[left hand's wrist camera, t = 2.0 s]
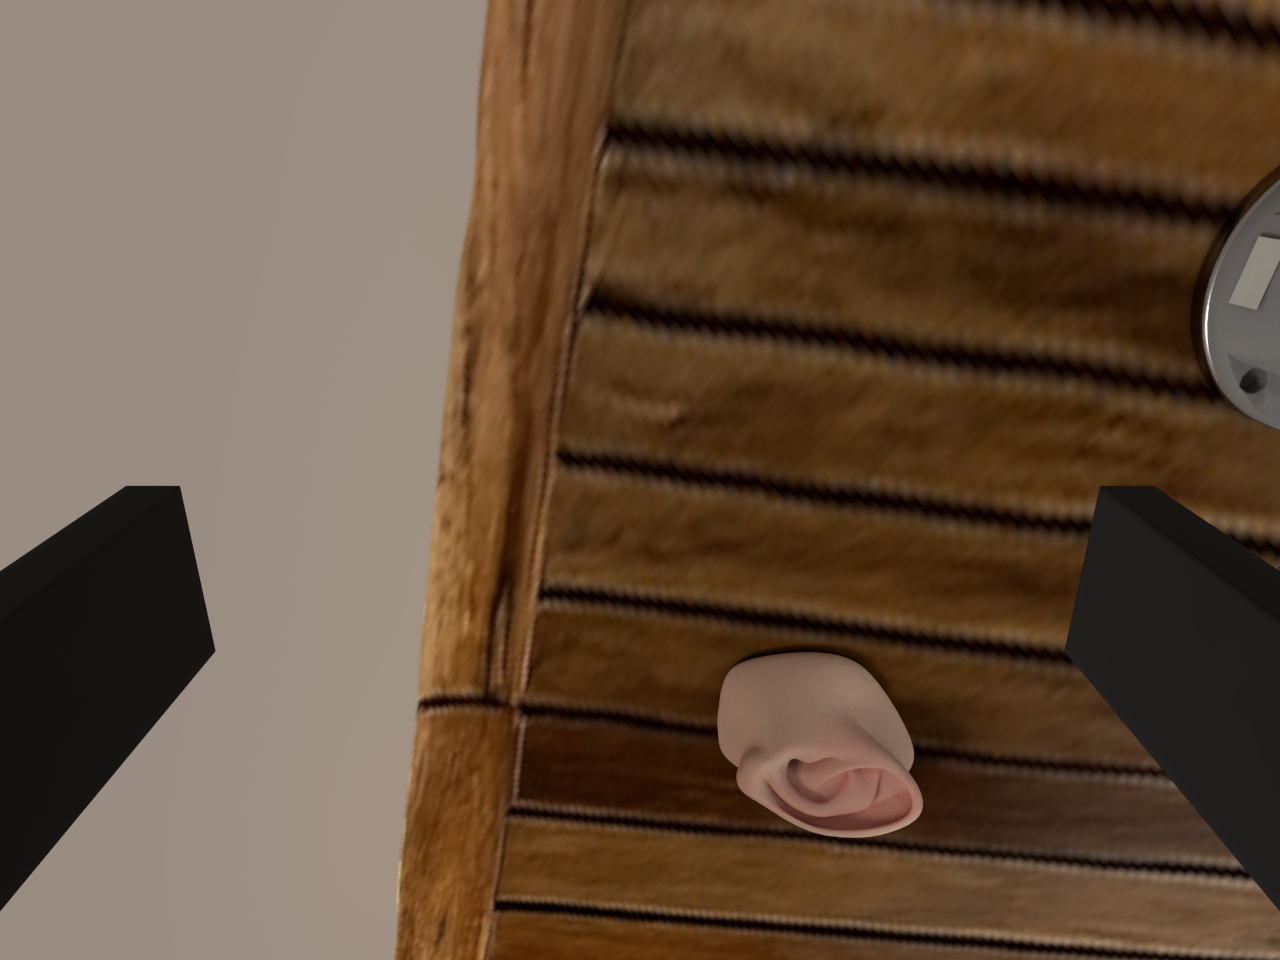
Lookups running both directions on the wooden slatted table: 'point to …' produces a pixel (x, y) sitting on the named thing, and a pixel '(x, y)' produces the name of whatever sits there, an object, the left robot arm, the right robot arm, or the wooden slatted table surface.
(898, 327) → the wooden slatted table surface
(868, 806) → the anatomical model
